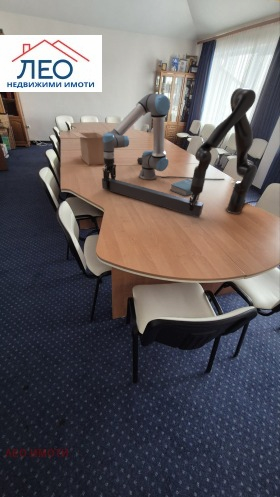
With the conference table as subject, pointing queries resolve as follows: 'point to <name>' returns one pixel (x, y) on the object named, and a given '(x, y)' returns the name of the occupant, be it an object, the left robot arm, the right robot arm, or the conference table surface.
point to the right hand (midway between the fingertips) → (192, 208)
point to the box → (91, 146)
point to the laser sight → (140, 160)
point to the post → (154, 197)
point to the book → (182, 187)
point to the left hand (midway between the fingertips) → (110, 188)
